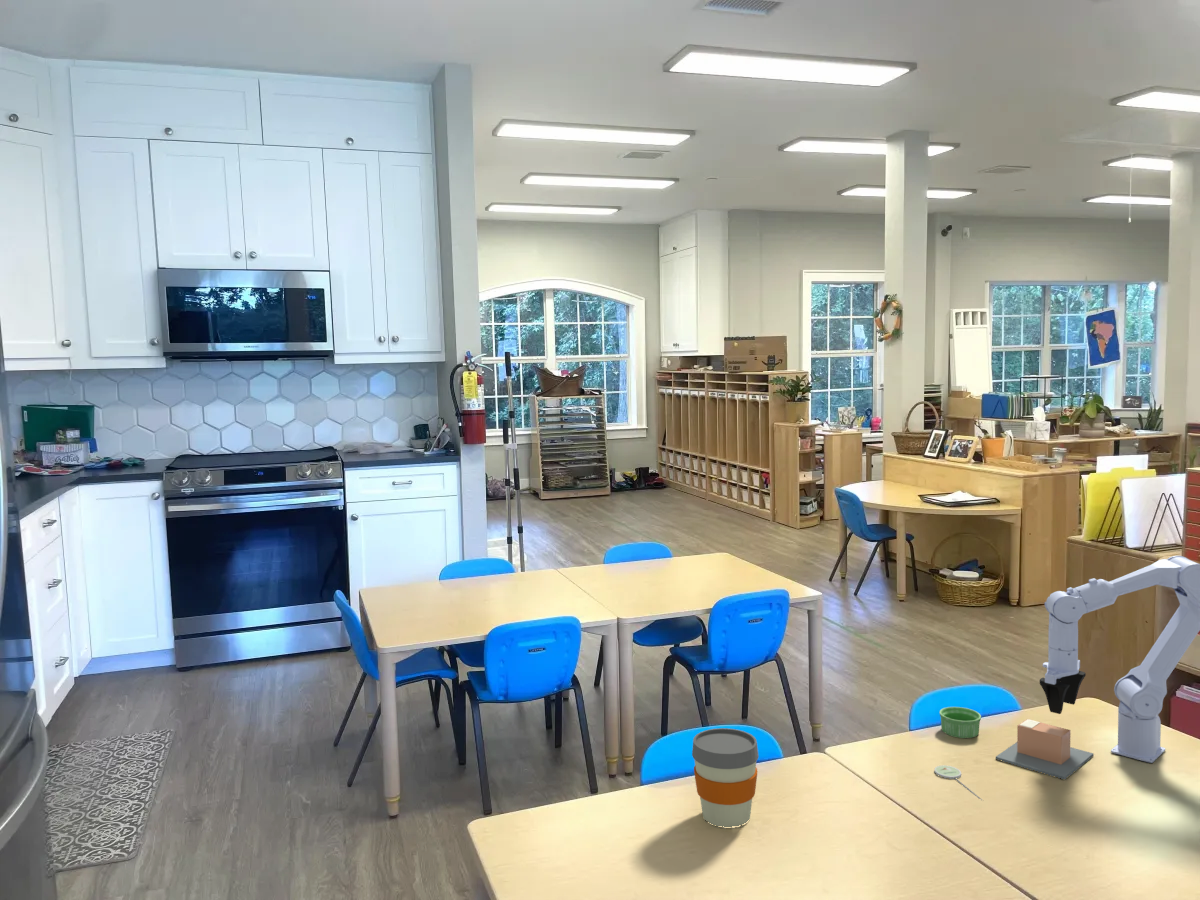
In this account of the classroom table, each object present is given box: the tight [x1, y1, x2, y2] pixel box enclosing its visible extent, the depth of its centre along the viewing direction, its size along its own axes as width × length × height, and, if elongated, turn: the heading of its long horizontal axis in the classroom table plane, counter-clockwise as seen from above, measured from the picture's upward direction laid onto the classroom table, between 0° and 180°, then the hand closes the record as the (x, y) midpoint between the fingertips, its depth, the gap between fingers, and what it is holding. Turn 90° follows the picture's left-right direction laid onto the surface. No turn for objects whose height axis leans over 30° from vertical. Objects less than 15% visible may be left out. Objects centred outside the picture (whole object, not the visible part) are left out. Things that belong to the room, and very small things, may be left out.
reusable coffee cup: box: [691, 727, 759, 827], centre depth 166 cm, size 13×13×15 cm
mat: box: [995, 741, 1094, 780], centre depth 187 cm, size 16×14×1 cm
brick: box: [1016, 718, 1071, 764], centre depth 187 cm, size 9×5×6 cm, turn 42°
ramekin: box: [939, 706, 982, 739], centre depth 202 cm, size 9×9×4 cm
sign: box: [934, 765, 983, 801], centre depth 177 cm, size 5×1×15 cm
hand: (1062, 707), depth 191 cm, fingers open, 7 cm apart
